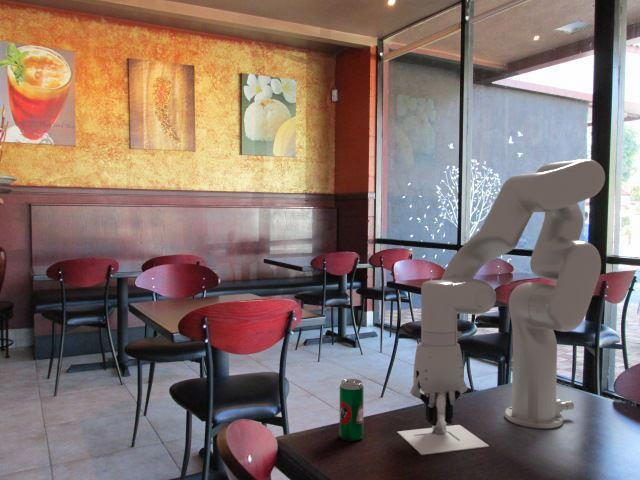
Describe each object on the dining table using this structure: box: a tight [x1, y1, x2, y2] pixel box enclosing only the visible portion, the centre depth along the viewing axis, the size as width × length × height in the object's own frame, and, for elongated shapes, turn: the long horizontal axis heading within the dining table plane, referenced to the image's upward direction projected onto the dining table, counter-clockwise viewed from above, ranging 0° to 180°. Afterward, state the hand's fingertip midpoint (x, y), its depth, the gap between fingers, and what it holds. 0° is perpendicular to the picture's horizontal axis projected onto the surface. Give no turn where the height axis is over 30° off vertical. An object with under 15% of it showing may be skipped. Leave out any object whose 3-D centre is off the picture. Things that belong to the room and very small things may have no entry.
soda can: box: [339, 378, 365, 442], centre depth 119 cm, size 5×5×12 cm
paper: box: [397, 424, 490, 456], centre depth 118 cm, size 15×12×1 cm
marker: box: [431, 392, 447, 435], centre depth 121 cm, size 3×3×11 cm
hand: (439, 421), depth 121 cm, fingers closed on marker, 3 cm apart
